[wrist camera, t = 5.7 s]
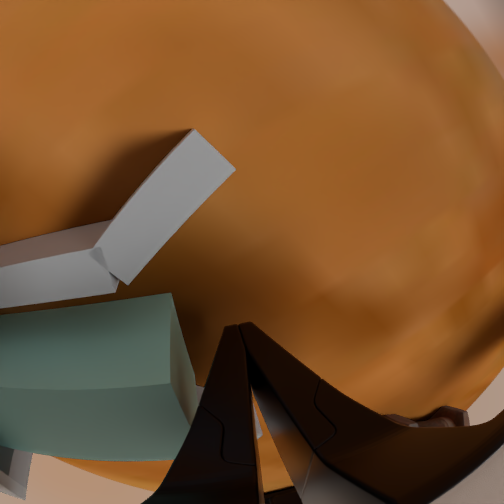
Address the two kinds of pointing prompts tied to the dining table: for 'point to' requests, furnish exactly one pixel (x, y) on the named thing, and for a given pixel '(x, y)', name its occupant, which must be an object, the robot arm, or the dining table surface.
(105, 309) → the mint green brick
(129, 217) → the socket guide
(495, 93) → the dining table surface
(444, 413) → the bolt
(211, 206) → the dining table surface
